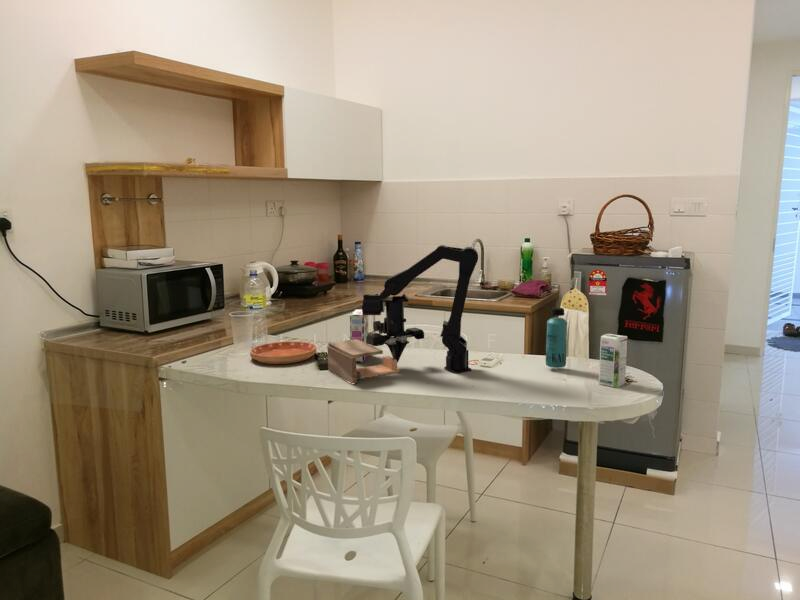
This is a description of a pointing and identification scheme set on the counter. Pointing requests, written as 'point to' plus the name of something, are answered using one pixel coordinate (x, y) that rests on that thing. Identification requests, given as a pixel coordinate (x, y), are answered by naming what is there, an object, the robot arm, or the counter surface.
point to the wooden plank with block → (380, 368)
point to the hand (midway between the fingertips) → (396, 362)
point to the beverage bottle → (556, 340)
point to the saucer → (283, 352)
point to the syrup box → (612, 360)
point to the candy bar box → (359, 329)
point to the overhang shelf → (348, 358)
